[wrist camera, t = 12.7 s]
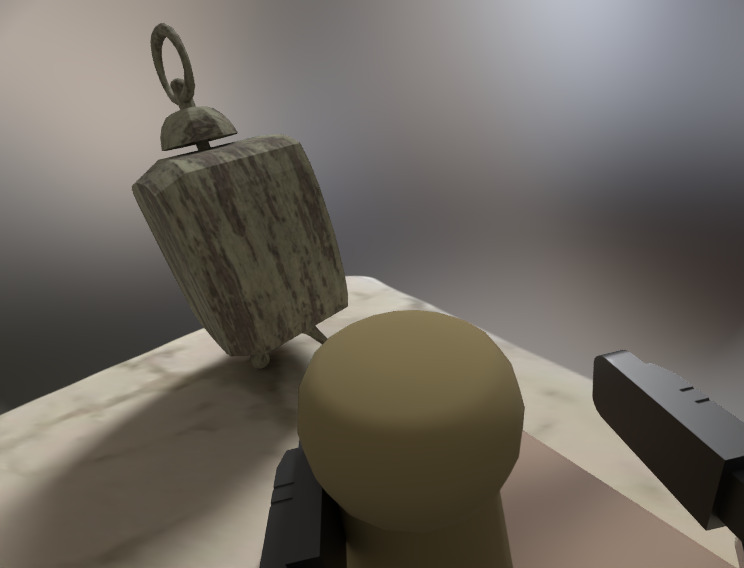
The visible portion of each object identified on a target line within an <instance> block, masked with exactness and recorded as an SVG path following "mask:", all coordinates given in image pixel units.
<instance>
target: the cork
mask: <svg viewBox="0 0 744 568" xmlns="http://www.w3.org/2000/svg"><path fill="white" fill-rule="evenodd" d="M524 409H525V407H524V403H523V400H522V396H521V392H520V388H519V385H518V382H517V379H516V376H515V373H514V370H513V367H512V364H511V363H510V361H509V360H508V359H507V357H506V356H505V355H504V353H503V352H502V351H501V349H500V348H499V347H498V346H497V345H496V344H495V343H494V341H493V340H492V339H491V338H490V337H489V336H488V335H487V334H486V332H484V331H482V330H481V329H479V328H477V327H475V326H474V325H472V324H470V323H469V322H467V321H464V320H461V319H458V318H455V317H452V316H448V315H445V314H441V313H437V312H428V311H419V310H408V311H393V312H388V313H383V314H378V315H373V316H371V317H368V318H365V319H363V320H360V321H357V322H355V323H353V324H350V325H348V326H347V327H345V328H344V329H342V330H340V331H339V332H337V333H336V334H334V335H332V336H331V337H329V338H328V339H327V340H326V341H325V342H324V343H323V345H322V346H321V347H320V348H319V349H318V350H317V351H316V352H315V353H314V355H313V357H312V359H311V362H310V364H309V366H308V368H307V370H306V372H305V375H304V377H303V379H302V382H301V384H300V386H299V395H298V435H299V438H300V441H301V445H302V448H303V451H304V453H305V455H306V458H307V460H308V462H309V465H310V467H311V469H312V472H313V474H314V476H315V478H316V480H317V481H318V482H319V484H320V485H321V486H322V487H323V489H324V490H325V491H326V492H327V493H328V494H329V495H330V496H331V497H332V498H333V499H334V500H335V501H336V502H337V503H338V506H339V511H340V515H341V520H342V524H343V528H344V533H345V537H346V544H347V568H513V564H512V558H511V552H510V546H509V540H508V534H507V528H506V523H505V517H504V511H503V505H502V499H501V493H500V490H501V488H502V486H503V485H504V483H505V482H506V480H507V479H508V477H509V475H510V474H511V472H512V470H513V468H514V466H515V464H516V462H517V460H518V458H519V453H520V445H521V438H522V430H523V420H524Z"/></svg>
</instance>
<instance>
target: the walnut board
mask: <svg viewBox="0 0 744 568" xmlns="http://www.w3.org/2000/svg"><path fill="white" fill-rule="evenodd" d="M500 493H501V499H502V505H503V511H504V517H505V523H506V528H507V534H508V540H509V546H510V552H511V558H512V564H513V568H736V567H734V566H733V565H731V564H729V563H728V562H726V561H725V560H723V559H722V558H720V557H719V556H717V555H715V554H714V553H712V552H711V551H709V550H708V549H706V548H705V547H703V546H702V545H700V544H698V543H697V542H695V541H694V540H692V539H691V538H689V537H688V536H686V535H684V534H683V533H681V532H680V531H678V530H677V529H675V528H674V527H672V526H671V525H669V524H667V523H666V522H664V521H663V520H661V519H660V518H658V517H657V516H655V515H653V514H652V513H650V512H649V511H647V510H646V509H644V508H643V507H641V506H640V505H638V504H636V503H635V502H633V501H632V500H630V499H629V498H627V497H626V496H624V495H622V494H621V493H619V492H618V491H616V490H615V489H613V488H612V487H610V486H609V485H607V484H605V483H604V482H602V481H601V480H599V479H598V478H596V477H595V476H593V475H591V474H590V473H588V472H587V471H585V470H584V469H582V468H581V467H579V466H578V465H576V464H574V463H573V462H571V461H570V460H568V459H567V458H565V457H564V456H562V455H560V454H559V453H557V452H556V451H554V450H553V449H551V448H550V447H548V446H547V445H545V444H543V443H542V442H540V441H539V440H537V439H536V438H534V437H533V436H531V435H529V434H528V433H526V432H525V431H523V430H522V438H521V445H520V453H519V458H518V460H517V462H516V464H515V466H514V468H513V470H512V472H511V474H510V475H509V477H508V479H507V480H506V482H505V483H504V485H503V486H502V488H501V490H500Z"/></svg>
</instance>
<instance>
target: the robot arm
mask: <svg viewBox="0 0 744 568" xmlns="http://www.w3.org/2000/svg"><path fill="white" fill-rule="evenodd" d="M593 401H594V405H595V407H596V409H597V411H598V413H599V414H600V416H601V417H602V418H603V419H604V420H605V421H606V423H607V424H608V425H609V426H610V427H611V428H612V429H613V430H614V431H615V432H616V433H617V435H618V436H619V437H620V438H621V439H622V440H623V441H624V442H625V443H626V444H627V445H628V446H629V448H630V449H631V450H632V451H633V452H634V453H635V454H636V455H637V456H638V457H639V458H640V460H641V461H642V462H643V463H644V464H645V465H646V466H647V467H648V468H649V469H650V470H651V471H652V473H653V474H654V475H655V476H656V477H657V478H658V479H659V480H660V481H661V482H662V483H663V485H664V486H665V487H666V488H667V489H668V490H669V491H670V492H671V493H672V494H673V495H674V497H675V498H676V499H677V500H678V501H679V502H680V503H681V504H682V505H683V506H684V507H685V508H686V510H687V511H688V512H689V513H690V514H691V515H692V516H693V517H694V518H695V519H696V520H697V522H698V523H699V524H700V525H701V526H702V527H703V528H704V529H705V530H706V531H707V530H711V529H716V528H720V527H724V526H727V527H728V528H729V529H730V530H731V531H732V532H733V533H734V534H735V535H736V538H735V549H736V553H737V558H738V562H739V566H740V568H744V423H743V422H742V421H740V420H739V419H738V418H736V417H735V416H734V415H732V414H731V413H729V412H728V411H727V410H725V409H724V408H722V407H721V406H720V405H718V404H717V403H716V402H714V401H710V400H709V397H707V396H706V395H704V394H703V393H702V392H700V391H699V390H698V389H694V388H693V386H692V385H691V384H689V383H688V382H686V381H685V380H684V379H682V378H681V377H680V376H678V375H677V374H675V373H674V372H672V371H669V370H667V369H664V368H662V367H659V366H657V365H655V364H653V363H648V364H645V363H643V362H642V361H641V360H640V359H638V358H637V357H636V356H634V355H633V354H632V353H630V352H629V351H626V350H620V351H616V352H612V353H608V354H604V355H600V356H597V357H596V358H595V360H594V372H593ZM259 568H347V544H346V537H345V533H344V528H343V524H342V520H341V515H340V511H339V506H338V503H337V502H336V501H335V500H334V499H333V498H332V497H331V496H330V495H329V494H328V493H327V492H326V491H325V490H324V489H323V487H322V486H321V485H320V484H319V482H318V481H317V480H316V478H315V476H314V474H313V472H312V469H311V467H310V465H309V462H308V460H307V458H306V455H305V453H304V451H303V448H302V445H301V441H300V439H299V448H295V449H291V450H287V451H286V453H285V454H284V456H283V458H282V460H281V462H280V463H279V465H278V467H277V470H276V476H275V481H274V490H273V493H272V499H271V507H270V510H269V516H268V522H267V527H266V533H265V539H264V545H263V550H262V556H261V562H260V567H259Z"/></svg>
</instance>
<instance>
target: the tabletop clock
mask: <svg viewBox="0 0 744 568" xmlns="http://www.w3.org/2000/svg"><path fill="white" fill-rule="evenodd" d="M166 37H167V38H168V39H169V40H170V41H171V42H172V43H173V45H174V46H175V47H176V49H177V51H178V53H179V55H180V58H181V61H182V64H183V68H184V80H183V79H178V78H177V79H174V80H173V81H172V82H171V85H170V86H171V88H172V90H171V88H170V86H169V84H168V82H167V79H166V76H165V72H164V68H163V62H162V45H163V41H164V39H165V38H166ZM151 51H152V57H153V61H154V65H155V68H156V71H157V74H158V76H159V79H160V81H161V84H162V86H163V88H164V90H165V91H166V93H167V95H168V97H169V98H170V100H171V101H172V102H173V103H175V104H177V105H179V108H180V111H177V112H175V113H173V114H171V115H170V116H168V117H167V118H166V119H165V122H164V124H163V126H162V129H161V137H160V138H161V147H162V151H168V150H172V149H177V148H183V147H187V146H191V145H196V146H197V148H198V151H194V152H190V153H186V154H181V155H177V156H173V157H169V158H165V159H160V160H158V161H157V162H156V163H155V164H154V165H153V166H152V167H151V168H150V169H149V170H148V171H147V172H146V173H145V174H144V175H143V176H142V177H141V178H140V179H139V180H138V181H137V182H136V183H135V184H133V186H132V191H133V194H134V196H135V198H136V201H137V203H138V205H139V207H140V209H141V211H142V213H143V215H144V217H145V219H146V221H147V223H148V225H149V227H150V229H151V231H152V233H153V235H154V237H155V239H156V241H157V243H158V245H159V247H160V249H161V251H162V253H163V255H164V257H165V259H166V261H167V263H168V265H169V267H170V269H171V271H172V273H173V275H174V277H175V279H176V281H177V282H178V284H179V286H180V288H181V290H182V292H183V294H184V296H185V298H186V300H187V302H188V304H189V305H190V307H191V309H192V311H193V313H194V314H195V316H196V317H197V319H198V320H199V321H200V323H201V324H202V326H203V327H204V328H205V329H206V331H207V332H208V333H209V334H210V335H211V337H212V338H213V339H214V340H215V341H216V342H217V343H218V345H219V346H220V347H221V348H222V349H223V350H224V351H225V352H226V353H227V354H228V355H229V356H245V355H252V356H251V364H252V366H253V367H255V368H257V369H262V368H265V367H266V366H267V365H268V363H269V361H270V356H269V354H268V352H270V351H272V350H273V349H275V348H277V347H279V346H280V345H282V344H284V343H286V342H287V341H289V340H291V339H292V338H294V337H296V336H298V335H299V334H301V333H304V334H307V335H309V336H311V337H312V338H314V339H315V340H316V341H318V342H319V343H321V344H322V345H323V343H324V342H325V341H326V340H327V338H326V337H325V336H324V335H323V334H322V333H321V332H320V331H319V330H318V328H317V327H316V326H315V325H317V324H318V323H320V322H322V321H324V320H325V319H327V318H329V317H330V316H332V315H334V314H336V313H337V312H339V311H341V310H343V309H344V308H346V307H348V292H347V286H346V280H345V274H344V270H343V266H342V262H341V258H340V253H339V249H338V245H337V241H336V237H335V233H334V230H333V227H332V224H331V221H330V218H329V214H328V212H327V208H326V205H325V202H324V199H323V196H322V193H321V190H320V187H319V184H318V182H317V179H316V177H315V174H314V172H313V169H312V166H311V164H310V162H309V160H308V158H307V156H306V154H305V152H304V150H303V148H302V146H301V144H300V142H298V141H296V140H295V139H293V138H291V137H289V136H286V135H282V134H276V135H266V136H257V137H253V138H248V139H244V140H240V141H236V142H232V143H228V144H223V145H219V146H216V147H210V145H209V142H208V141H212V140H216V139H220V138H224V137H227V136H231V135H234V134H237V131H236V129H235V128H234V126H233V125H232V123H231V122H230V121H229V120H228V119H227V118H226V117H225V116H224V115H223V114H222V113H220V112H218V111H217V110H215V109H214V108H210V107H196V106H195V103H194V101H193V96H194V89H195V83H194V77H193V72H192V68H191V64H190V60H189V57H188V54H187V52H186V50H185V47H184V45H183V43H182V41H181V39H180V37H179V35H178V34H177V33H176V32H175V30H174V29H173V28H172V27H170V26H168V25H166V24H164V23H160V24H159V25H157V26H156V27H155V28H154V30H153V32H152V35H151Z"/></svg>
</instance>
